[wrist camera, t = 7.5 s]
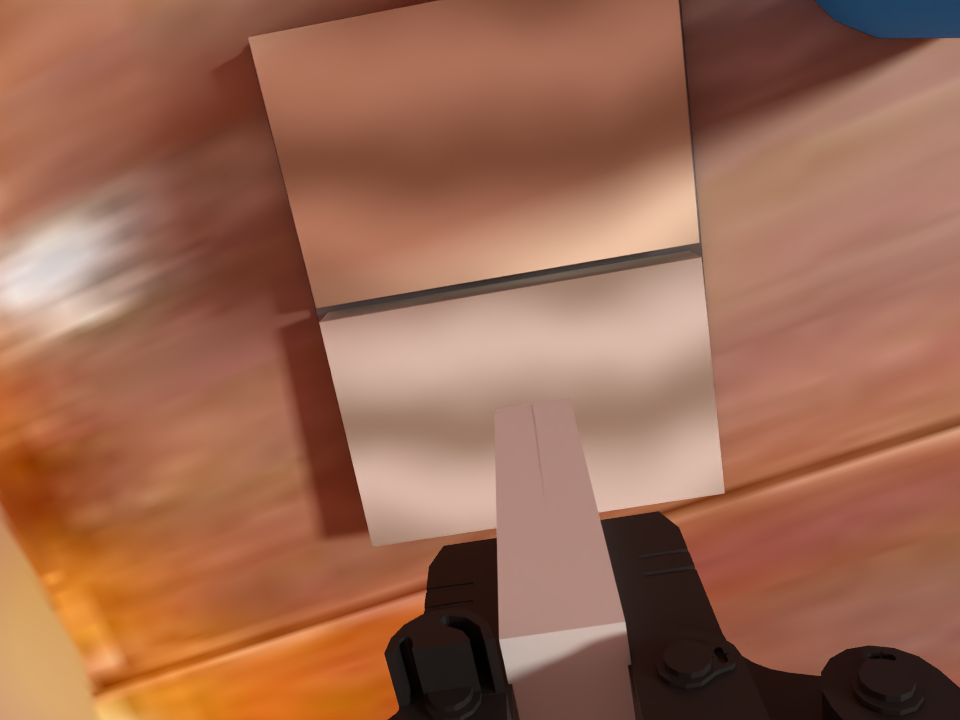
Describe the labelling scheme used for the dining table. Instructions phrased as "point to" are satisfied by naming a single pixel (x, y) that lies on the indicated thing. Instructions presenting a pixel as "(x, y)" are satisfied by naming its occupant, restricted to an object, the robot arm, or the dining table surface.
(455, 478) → the plank
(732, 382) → the dining table surface
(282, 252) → the dining table surface
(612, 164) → the floor board
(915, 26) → the thermos
